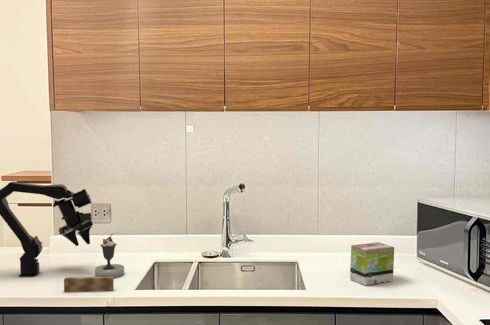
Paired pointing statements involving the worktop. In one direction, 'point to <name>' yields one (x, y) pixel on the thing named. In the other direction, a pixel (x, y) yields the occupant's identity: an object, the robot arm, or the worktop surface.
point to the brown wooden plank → (88, 284)
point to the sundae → (108, 251)
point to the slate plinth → (110, 271)
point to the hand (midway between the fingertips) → (83, 244)
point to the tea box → (371, 263)
